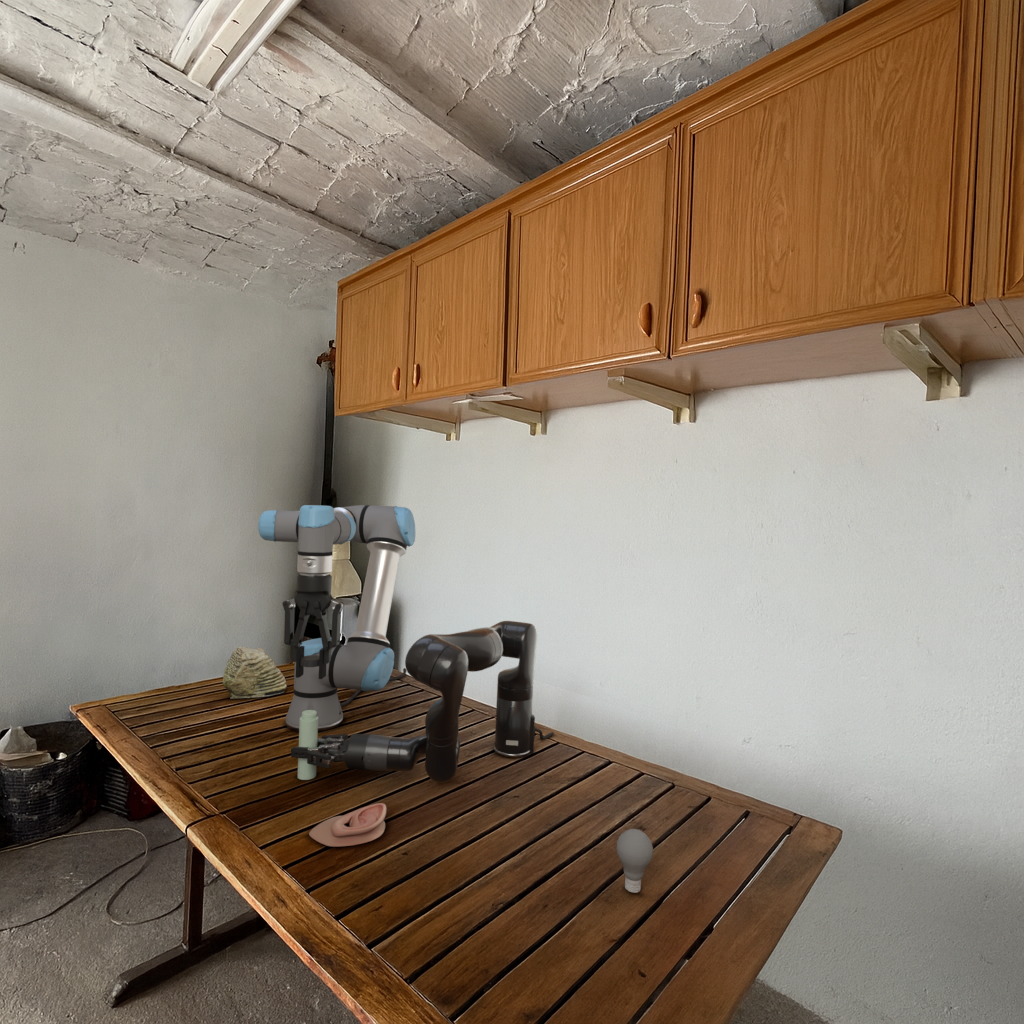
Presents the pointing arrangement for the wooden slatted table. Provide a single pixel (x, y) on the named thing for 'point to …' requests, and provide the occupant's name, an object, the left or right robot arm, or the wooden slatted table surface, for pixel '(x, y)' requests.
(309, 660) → the lid
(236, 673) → the fossil
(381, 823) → the anatomical model
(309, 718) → the bottle
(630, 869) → the light bulb
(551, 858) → the wooden slatted table surface
